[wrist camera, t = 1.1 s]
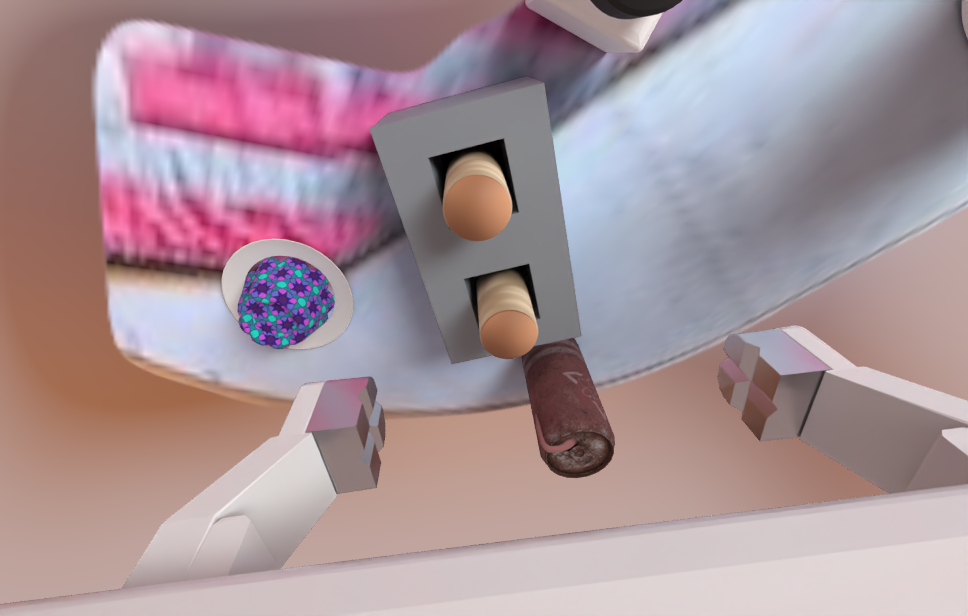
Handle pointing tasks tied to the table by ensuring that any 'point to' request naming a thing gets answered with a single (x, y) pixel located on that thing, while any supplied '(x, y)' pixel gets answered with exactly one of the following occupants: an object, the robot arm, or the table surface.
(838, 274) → the table surface
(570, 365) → the can
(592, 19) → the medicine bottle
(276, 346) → the pudding
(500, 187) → the peg
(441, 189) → the block
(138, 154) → the table surface
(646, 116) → the table surface
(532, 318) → the peg
